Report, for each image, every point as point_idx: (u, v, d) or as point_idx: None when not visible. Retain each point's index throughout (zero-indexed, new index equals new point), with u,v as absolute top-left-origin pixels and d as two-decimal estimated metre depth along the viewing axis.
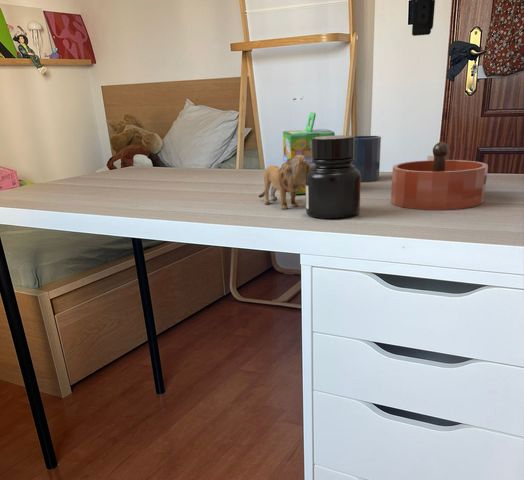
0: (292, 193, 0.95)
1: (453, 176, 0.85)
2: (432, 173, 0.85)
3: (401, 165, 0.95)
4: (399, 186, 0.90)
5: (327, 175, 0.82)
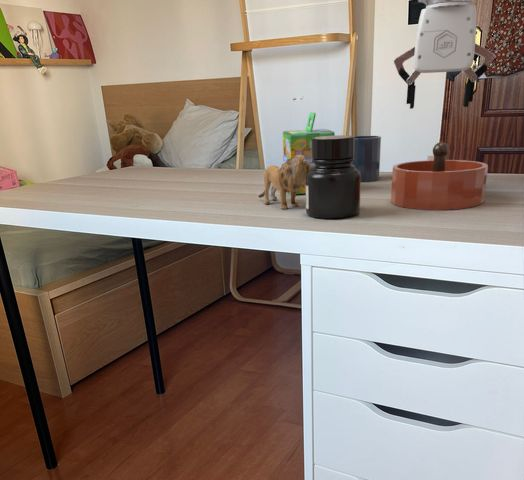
0: (292, 193, 0.95)
1: (453, 176, 0.85)
2: (432, 173, 0.85)
3: (401, 165, 0.95)
4: (399, 186, 0.90)
5: (327, 175, 0.82)
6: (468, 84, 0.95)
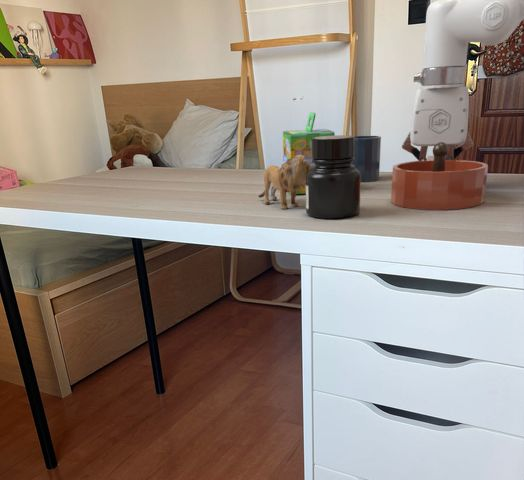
0: (292, 193, 0.95)
1: (453, 176, 0.85)
2: (432, 173, 0.85)
3: (401, 165, 0.95)
4: (399, 186, 0.90)
5: (327, 175, 0.82)
6: None
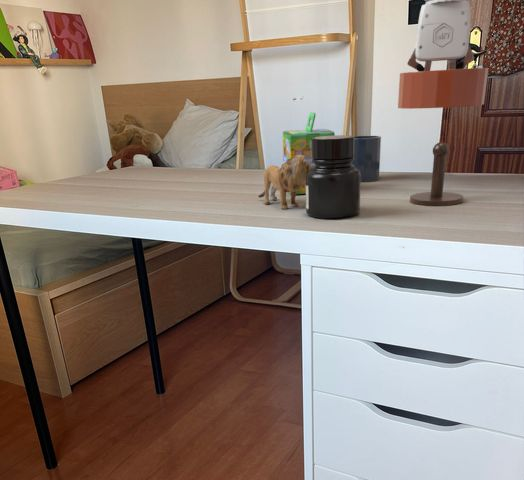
0: (292, 193, 0.95)
1: (456, 74, 0.92)
2: (437, 71, 0.92)
3: None
4: (406, 89, 0.97)
5: (327, 175, 0.82)
6: None
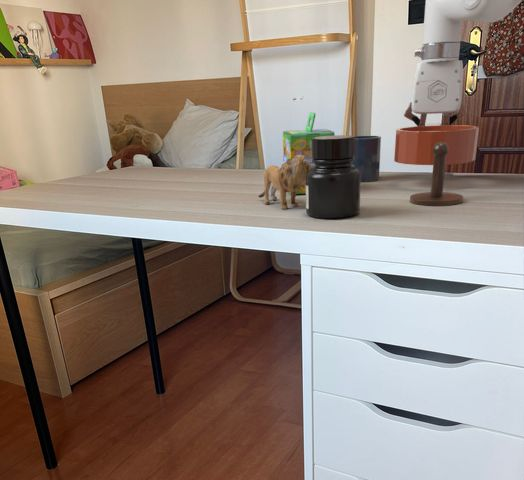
0: (292, 193, 0.95)
1: (448, 135, 0.98)
2: (430, 132, 0.98)
3: (403, 129, 1.09)
4: (402, 145, 1.04)
5: (327, 175, 0.82)
6: None
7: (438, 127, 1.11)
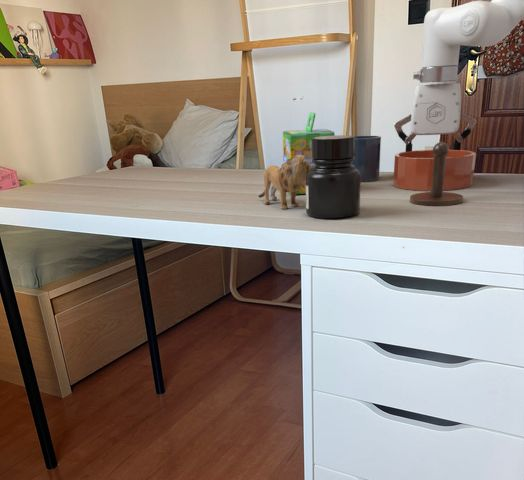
0: (292, 193, 0.95)
1: None
2: (428, 159, 1.01)
3: (402, 154, 1.11)
4: (400, 171, 1.06)
5: (327, 175, 0.82)
6: (455, 144, 1.15)
7: None
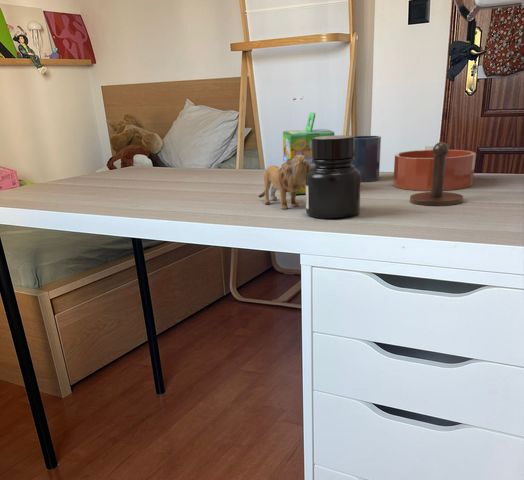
0: (292, 193, 0.95)
1: None
2: (428, 159, 1.01)
3: (402, 154, 1.11)
4: (400, 171, 1.06)
5: (327, 175, 0.82)
6: None
7: None
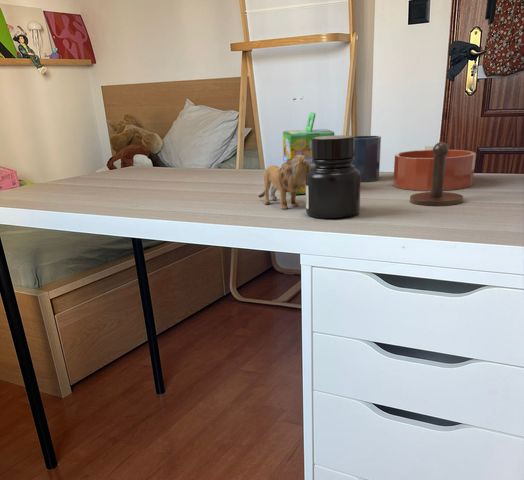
0: (292, 193, 0.95)
1: None
2: (428, 159, 1.01)
3: (402, 154, 1.11)
4: (400, 171, 1.06)
5: (327, 175, 0.82)
6: None
7: None
